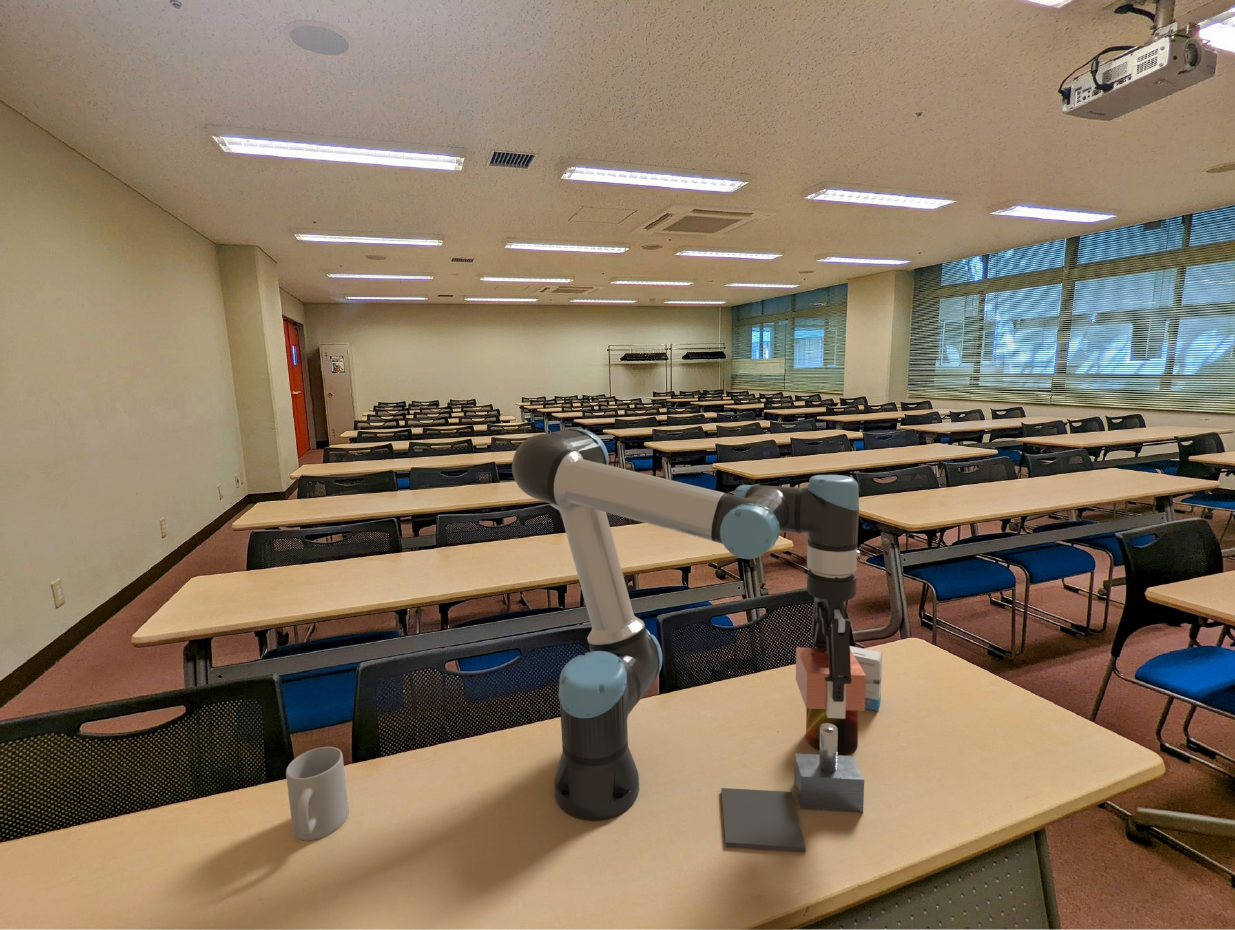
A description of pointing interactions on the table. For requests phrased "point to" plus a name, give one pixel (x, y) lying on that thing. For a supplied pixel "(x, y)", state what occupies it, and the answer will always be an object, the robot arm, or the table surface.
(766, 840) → the mat
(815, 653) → the red square hollow block
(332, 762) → the mug
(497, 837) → the table surface
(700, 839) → the table surface
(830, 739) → the toggle switch
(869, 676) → the ink box
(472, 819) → the table surface
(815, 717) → the mug
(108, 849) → the table surface
